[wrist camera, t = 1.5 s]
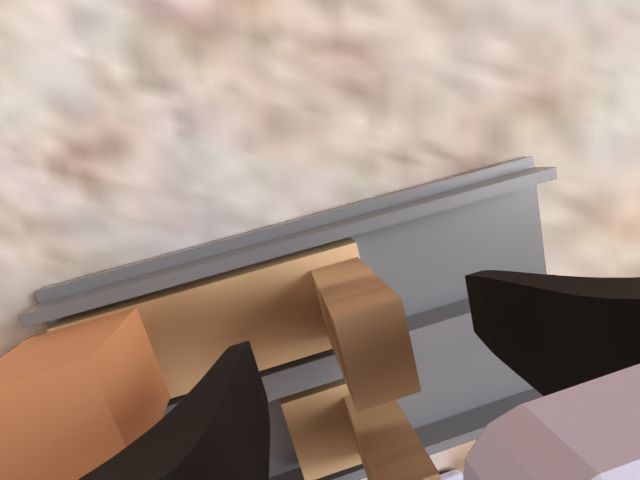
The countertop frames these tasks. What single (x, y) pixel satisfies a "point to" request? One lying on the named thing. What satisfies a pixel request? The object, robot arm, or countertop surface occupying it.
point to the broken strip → (353, 436)
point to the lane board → (398, 273)
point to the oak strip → (282, 321)
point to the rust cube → (77, 397)
